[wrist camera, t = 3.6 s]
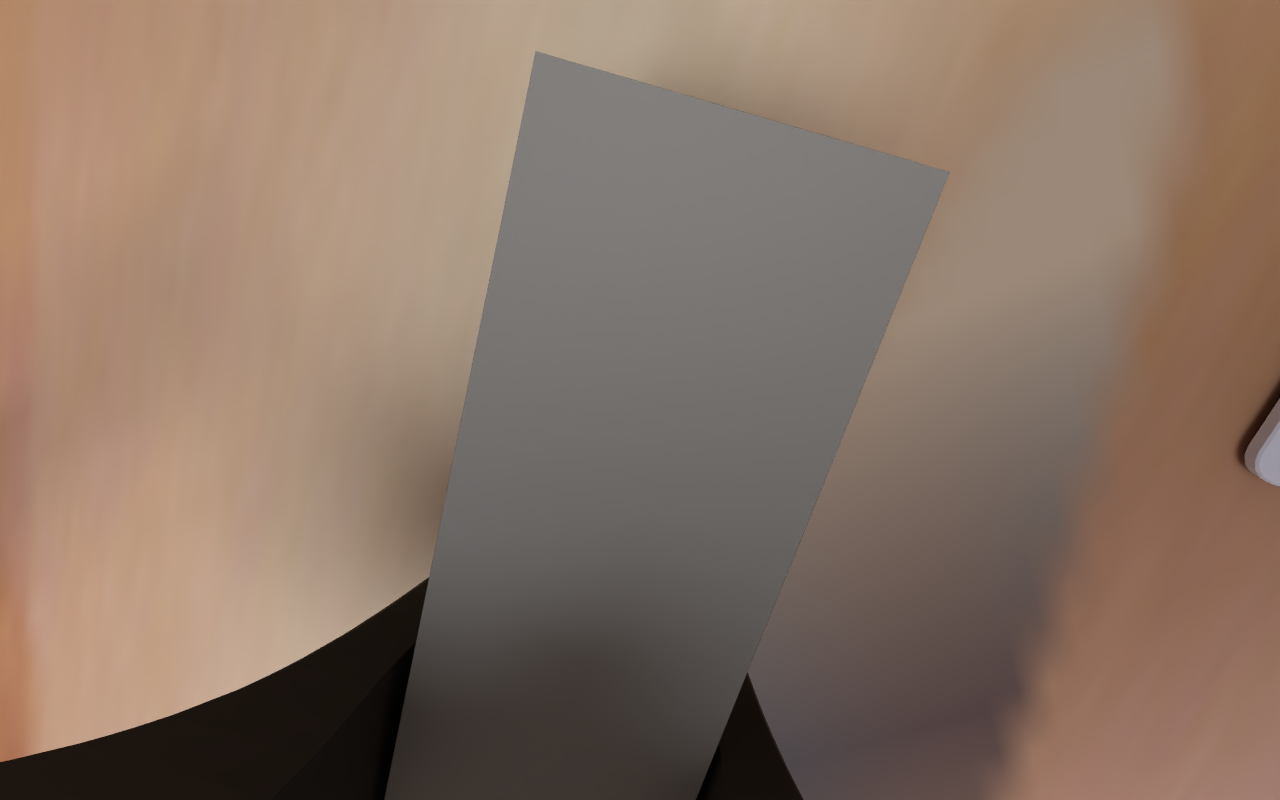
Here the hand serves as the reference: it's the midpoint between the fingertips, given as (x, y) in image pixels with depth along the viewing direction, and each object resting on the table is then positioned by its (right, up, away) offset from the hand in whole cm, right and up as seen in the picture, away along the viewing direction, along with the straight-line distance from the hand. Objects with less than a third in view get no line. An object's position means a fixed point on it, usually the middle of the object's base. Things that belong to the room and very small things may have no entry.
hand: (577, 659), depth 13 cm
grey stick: (0, +1, +2) cm, 2 cm away
